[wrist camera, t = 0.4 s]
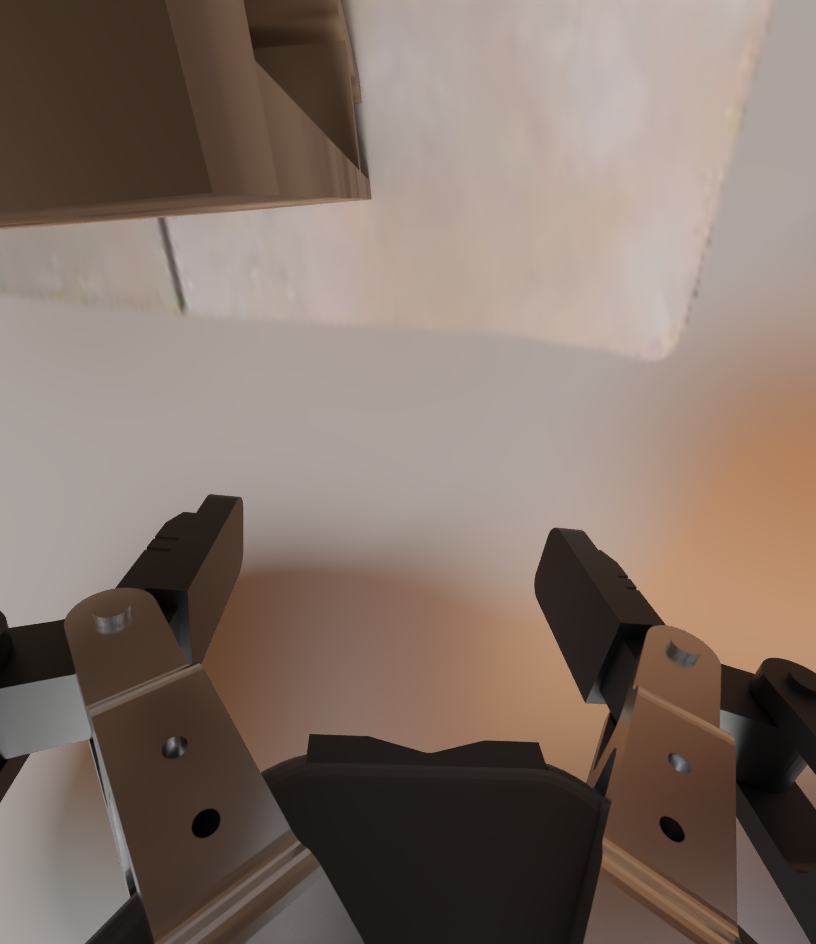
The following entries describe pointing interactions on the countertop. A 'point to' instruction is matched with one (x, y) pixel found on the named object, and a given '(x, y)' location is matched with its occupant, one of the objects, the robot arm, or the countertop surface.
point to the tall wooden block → (174, 108)
